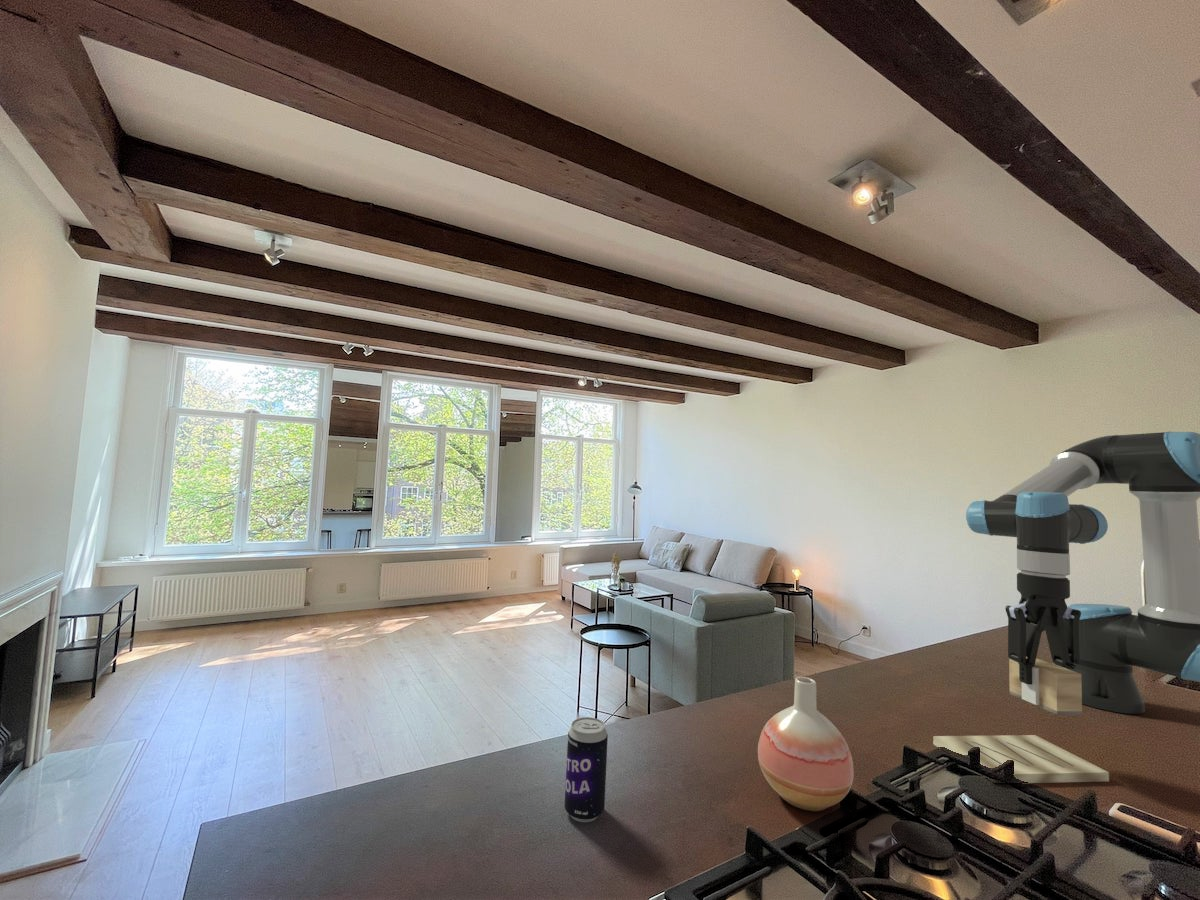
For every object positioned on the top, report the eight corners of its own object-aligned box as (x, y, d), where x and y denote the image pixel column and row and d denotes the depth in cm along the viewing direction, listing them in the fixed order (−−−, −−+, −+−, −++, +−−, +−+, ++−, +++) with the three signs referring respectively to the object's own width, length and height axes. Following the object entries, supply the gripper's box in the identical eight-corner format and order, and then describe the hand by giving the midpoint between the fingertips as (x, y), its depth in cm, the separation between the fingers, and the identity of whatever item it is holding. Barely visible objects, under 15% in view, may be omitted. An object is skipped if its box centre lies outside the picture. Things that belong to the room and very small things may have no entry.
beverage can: (563, 800, 74) (568, 715, 75) (602, 800, 75) (606, 716, 75) (564, 826, 68) (569, 734, 69) (606, 826, 69) (610, 734, 70)
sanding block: (1009, 693, 97) (1009, 656, 98) (1032, 693, 98) (1032, 656, 99) (1057, 714, 89) (1056, 673, 89) (1082, 714, 89) (1081, 673, 90)
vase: (875, 821, 73) (876, 694, 74) (794, 834, 69) (797, 701, 70) (810, 769, 86) (812, 662, 87) (739, 778, 82) (742, 666, 83)
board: (1035, 742, 100) (1035, 735, 100) (1109, 781, 87) (1108, 772, 87) (933, 744, 97) (933, 736, 97) (993, 783, 84) (993, 774, 84)
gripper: (1064, 572, 100) (1066, 693, 98) (981, 569, 98) (982, 693, 96) (1106, 579, 92) (1109, 710, 91) (1018, 576, 90) (1019, 710, 88)
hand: (1044, 701), depth 93 cm, fingers closed on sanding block, 5 cm apart
